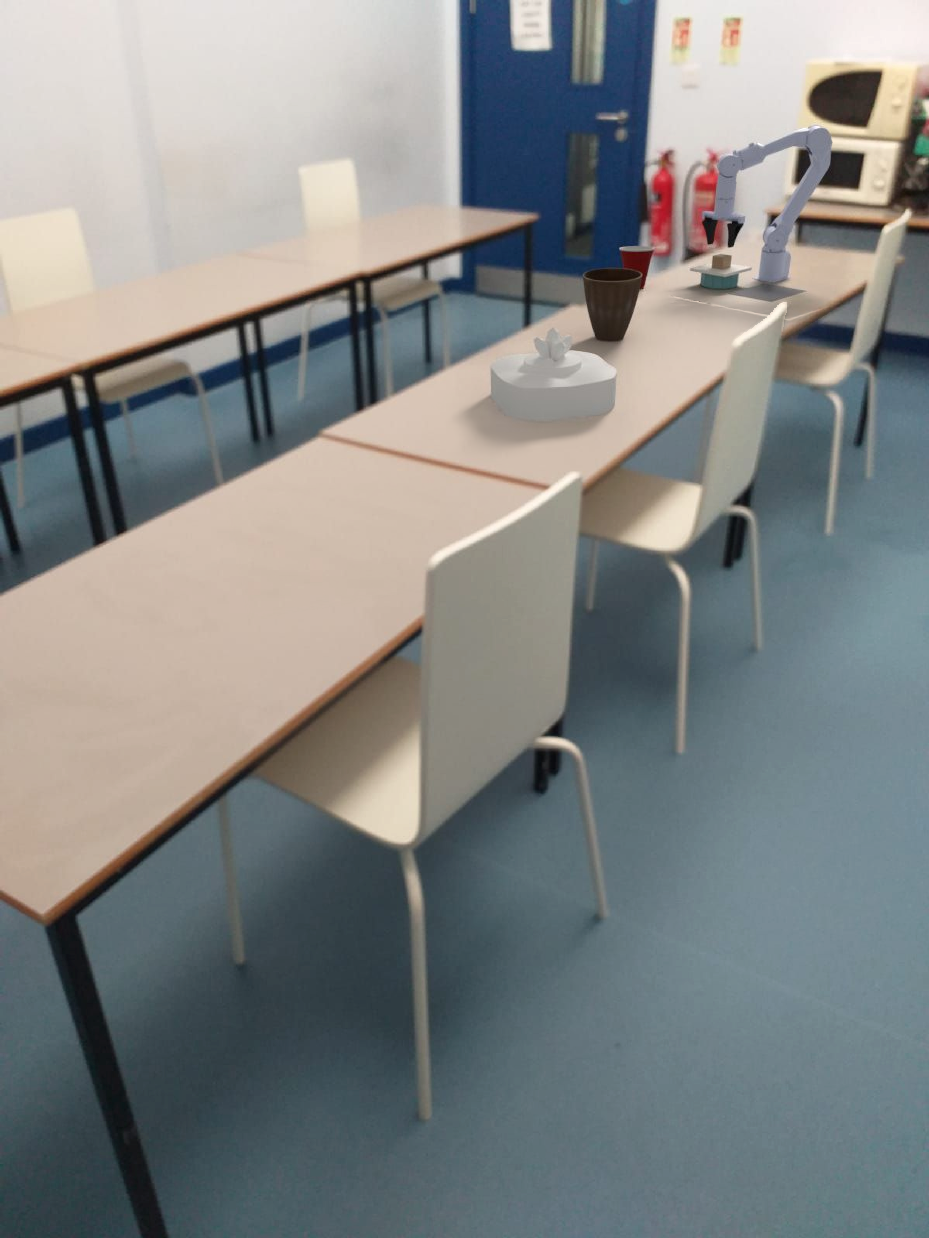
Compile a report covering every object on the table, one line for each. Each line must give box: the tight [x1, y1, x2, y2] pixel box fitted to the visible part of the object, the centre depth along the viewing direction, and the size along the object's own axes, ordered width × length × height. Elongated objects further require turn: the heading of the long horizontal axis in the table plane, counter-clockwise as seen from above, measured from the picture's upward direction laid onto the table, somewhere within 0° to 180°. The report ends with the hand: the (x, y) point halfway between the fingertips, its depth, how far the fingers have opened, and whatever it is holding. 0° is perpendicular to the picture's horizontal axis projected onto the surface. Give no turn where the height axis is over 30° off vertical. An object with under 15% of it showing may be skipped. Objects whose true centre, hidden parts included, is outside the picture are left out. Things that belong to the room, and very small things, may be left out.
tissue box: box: [490, 327, 618, 423], centre depth 208 cm, size 25×25×16 cm
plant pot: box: [582, 267, 642, 342], centre depth 249 cm, size 15×15×16 cm
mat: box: [728, 282, 806, 303], centre depth 288 cm, size 18×15×1 cm
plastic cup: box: [619, 245, 656, 290], centre depth 298 cm, size 11×11×12 cm
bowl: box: [699, 273, 740, 290], centre depth 297 cm, size 11×11×5 cm
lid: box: [689, 253, 753, 277], centre depth 294 cm, size 13×13×4 cm
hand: (720, 245), depth 300 cm, fingers open, 7 cm apart
